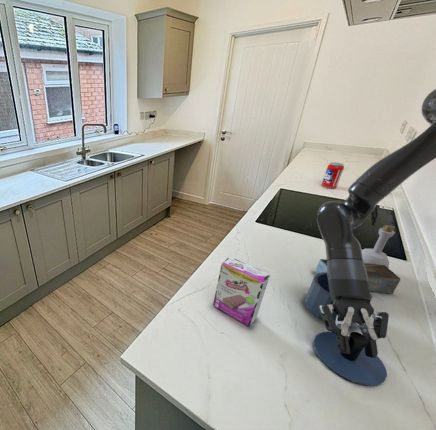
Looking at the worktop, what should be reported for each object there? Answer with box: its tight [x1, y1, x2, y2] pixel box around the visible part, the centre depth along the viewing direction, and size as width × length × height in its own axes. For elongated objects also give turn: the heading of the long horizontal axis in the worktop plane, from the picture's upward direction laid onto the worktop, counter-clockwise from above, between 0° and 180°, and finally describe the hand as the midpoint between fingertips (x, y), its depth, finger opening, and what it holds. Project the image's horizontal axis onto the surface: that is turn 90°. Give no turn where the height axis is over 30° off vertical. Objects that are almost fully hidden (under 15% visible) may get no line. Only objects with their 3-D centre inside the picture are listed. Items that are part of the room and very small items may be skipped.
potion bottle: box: [362, 224, 396, 269], centre depth 89 cm, size 9×9×18 cm
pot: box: [304, 272, 373, 329], centre depth 75 cm, size 13×13×9 cm
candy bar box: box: [212, 256, 271, 328], centre depth 73 cm, size 11×5×16 cm, turn 43°
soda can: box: [320, 161, 345, 190], centre depth 161 cm, size 8×8×15 cm
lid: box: [312, 331, 388, 387], centre depth 62 cm, size 14×14×8 cm
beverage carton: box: [314, 258, 401, 295], centre depth 85 cm, size 8×19×7 cm, turn 77°
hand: (358, 354), depth 60 cm, fingers open, 4 cm apart
